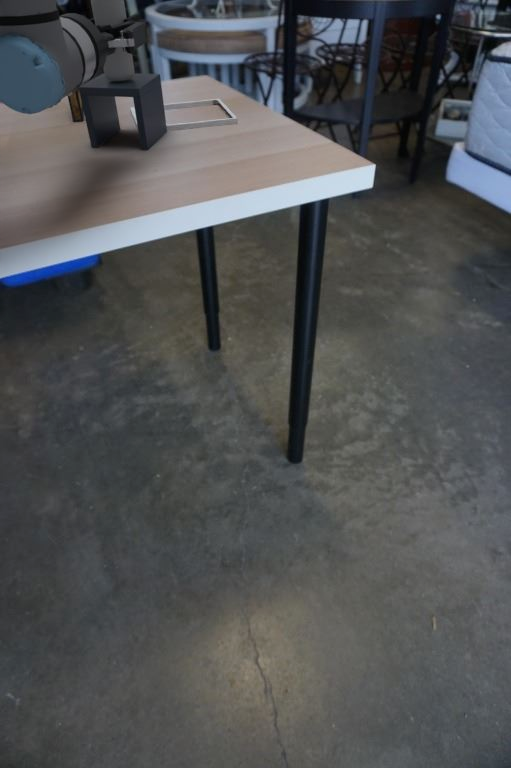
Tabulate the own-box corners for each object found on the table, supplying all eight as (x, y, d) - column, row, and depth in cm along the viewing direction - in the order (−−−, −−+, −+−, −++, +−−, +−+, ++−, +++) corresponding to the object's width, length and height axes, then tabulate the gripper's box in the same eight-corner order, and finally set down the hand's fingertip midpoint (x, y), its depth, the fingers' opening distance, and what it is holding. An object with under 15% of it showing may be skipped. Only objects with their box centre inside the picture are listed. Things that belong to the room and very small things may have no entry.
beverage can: (135, 74, 88) (121, -17, 80) (135, 80, 84) (121, -14, 76) (105, 75, 87) (88, -16, 79) (104, 82, 83) (86, -13, 76)
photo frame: (129, 106, 104) (219, 97, 107) (130, 112, 105) (219, 103, 108) (138, 127, 93) (237, 117, 97) (139, 134, 94) (237, 123, 97)
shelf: (91, 147, 89) (78, 87, 83) (114, 129, 96) (104, 72, 90) (147, 149, 87) (138, 88, 81) (167, 131, 95) (160, 73, 89)
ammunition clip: (74, 107, 108) (58, 37, 100) (83, 106, 108) (68, 36, 100) (73, 121, 100) (56, 47, 92) (83, 121, 100) (67, 46, 92)
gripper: (11, 85, 71) (74, 51, 89) (141, 85, 69) (179, 50, 87) (-8, 17, 66) (62, -4, 84) (131, 15, 64) (174, -6, 82)
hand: (122, 24), depth 85 cm, fingers closed on beverage can, 5 cm apart
